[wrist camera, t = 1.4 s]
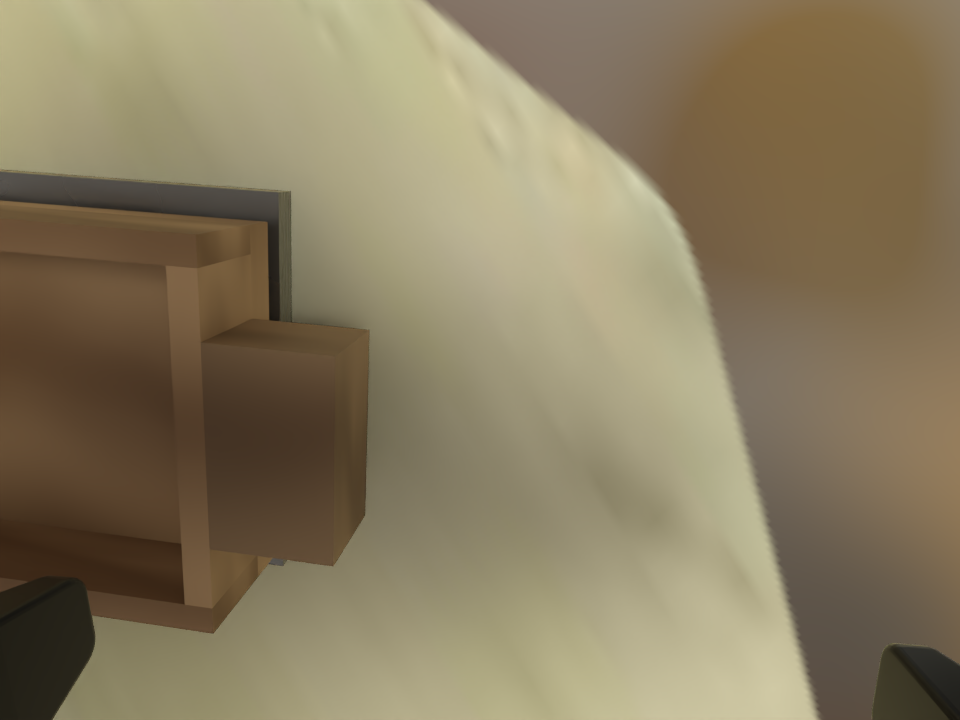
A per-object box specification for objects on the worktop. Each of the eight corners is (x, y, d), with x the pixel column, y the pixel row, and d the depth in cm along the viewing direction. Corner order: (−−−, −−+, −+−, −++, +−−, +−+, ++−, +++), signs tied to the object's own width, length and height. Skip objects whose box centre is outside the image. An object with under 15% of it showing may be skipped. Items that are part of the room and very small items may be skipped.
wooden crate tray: (379, 560, 21) (332, 651, 17) (6, 509, 22) (-118, 583, 18) (389, 229, 18) (336, 246, 14) (-35, 195, 20) (-190, 202, 16)
